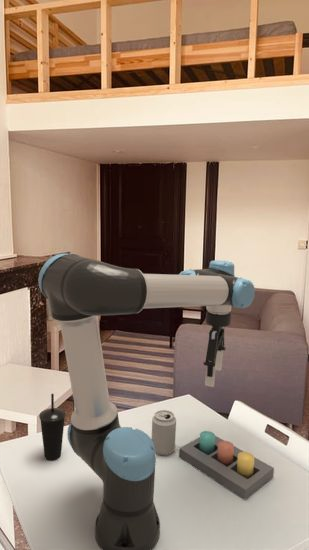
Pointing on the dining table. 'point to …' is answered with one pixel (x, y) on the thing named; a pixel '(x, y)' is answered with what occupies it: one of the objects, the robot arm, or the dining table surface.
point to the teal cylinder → (207, 442)
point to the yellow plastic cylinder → (245, 464)
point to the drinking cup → (52, 431)
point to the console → (226, 469)
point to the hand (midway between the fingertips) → (213, 377)
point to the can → (164, 432)
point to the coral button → (225, 453)
